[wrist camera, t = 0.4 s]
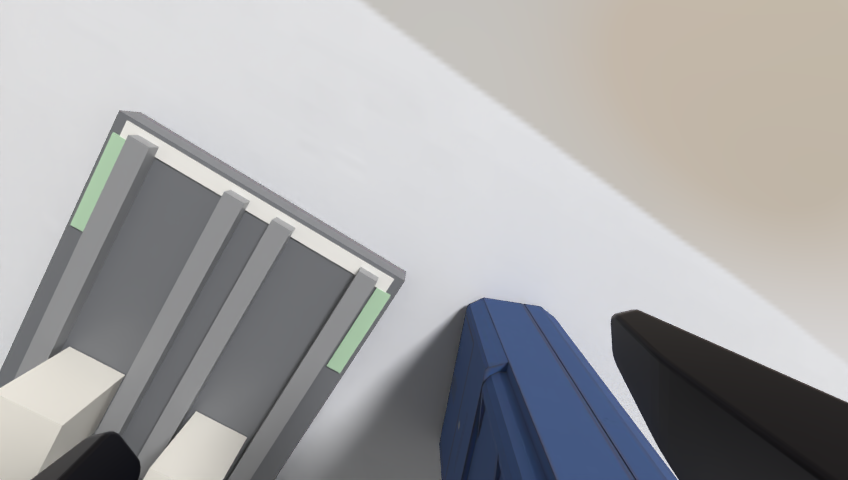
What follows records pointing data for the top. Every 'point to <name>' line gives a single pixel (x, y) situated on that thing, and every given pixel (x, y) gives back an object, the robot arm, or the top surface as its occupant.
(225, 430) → the tab
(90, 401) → the white rectangular block
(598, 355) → the top surface
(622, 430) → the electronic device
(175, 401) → the switch bank
